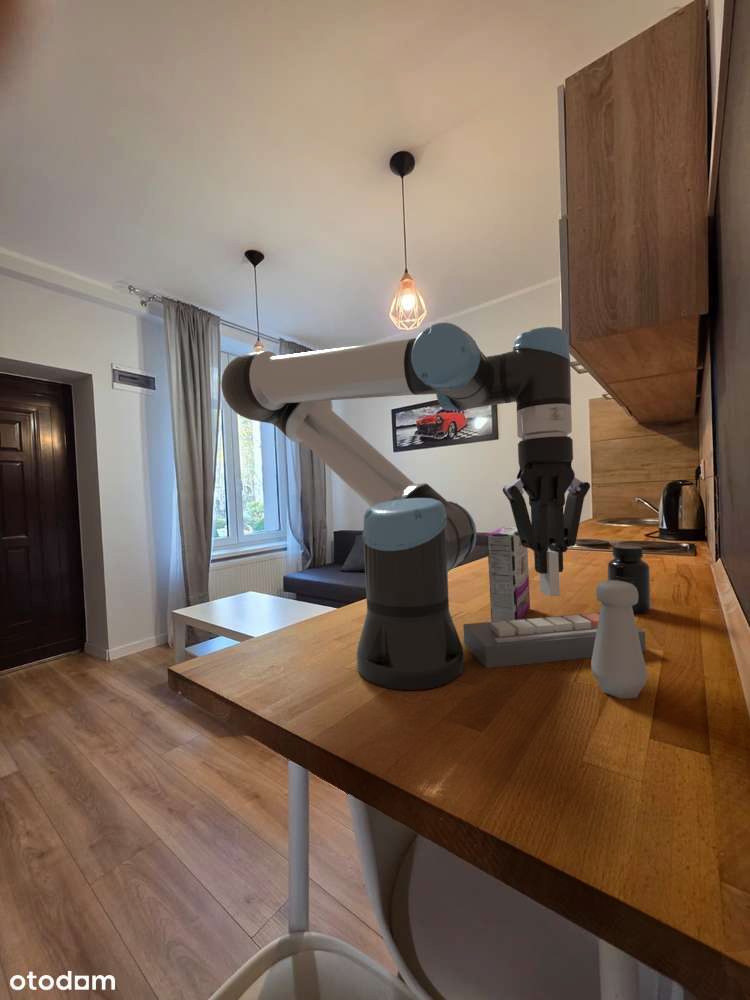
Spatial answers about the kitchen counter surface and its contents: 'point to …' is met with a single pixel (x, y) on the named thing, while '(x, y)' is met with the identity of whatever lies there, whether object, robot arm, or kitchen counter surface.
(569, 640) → the gray button panel
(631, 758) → the kitchen counter surface
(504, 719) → the kitchen counter surface
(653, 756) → the kitchen counter surface
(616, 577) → the supplement bottle
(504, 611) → the candy bar box
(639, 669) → the salt shaker
